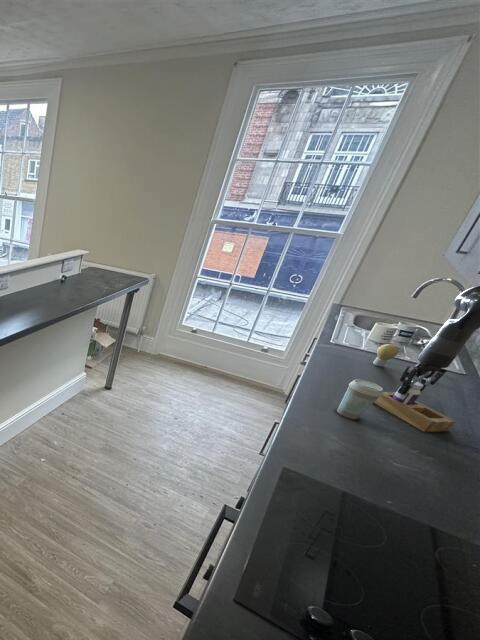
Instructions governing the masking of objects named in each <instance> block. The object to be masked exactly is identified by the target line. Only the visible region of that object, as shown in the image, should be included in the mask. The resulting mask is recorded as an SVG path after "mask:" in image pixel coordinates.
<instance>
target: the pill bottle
mask: <svg viewBox="0 0 480 640" xmlns="http://www.w3.org/2000/svg"><path fill="white" fill-rule="evenodd" d="M412 381H413V380H412ZM412 381H411V382H412ZM401 386H402V385H401ZM401 386H399V388H400V387H401ZM422 387H423V384H421V383H419V382H416V383H415V384H414V385H412V387H411V388H410V389H409V391H408V392H407V393H406V394H405V395H402V394H400V393H398V392H397V391H398V390H399V388H398V389H397V390H396V391H395V392H396V393H395V394H394V396H393V397H392V398H393V399H395V400H397V401H399V402H401V403H403V404H404V405H412V404H413V403H414V402H415V400H416V401H417V400H418V398H419V397H420V395H421V394H422V392H421V391H420V389H422Z"/></svg>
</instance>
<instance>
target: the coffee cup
mask: <svg viewBox="0 0 480 640" xmlns="http://www.w3.org/2000/svg"><path fill="white" fill-rule="evenodd" d="M382 392H384V388H383V387H382V386H380V385H379V384H377V383H375V382H372V381H369V380H366V379H363V378H362V379H361V378H355V379H353V380H352V381H350V382H349V383H348V388H347V389H346V392H345V393H344V395H343V398H342V400H341V402H340V404H339V406H338V408H337V410H336V412H337V413H338V414H339V415H340V416H342V417H345V418H347V419H351V420H358V419H359V418H360V417H361V416H362V415H363V414H364V413H366V411H367V410H368V409H369V408H370V407H371V406H372V405H373V404H375V403H374V402H375V401H376V399H377V398H378V397H380V396H382V394H383V393H382Z"/></svg>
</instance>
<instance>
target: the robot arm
mask: <svg viewBox="0 0 480 640" xmlns="http://www.w3.org/2000/svg"><path fill="white" fill-rule="evenodd" d="M453 305H454V306H455V308H456V309H458V310H459V311H461V312H464V313H465V314H464V315H462V316H461V317H460V318H450V319H448V320H446V321H445V322H444V324H443V325H442V326H441V327H440V328H439V330H438V331H437V333H436V334H435V335H434V336H433V337H432V338H431V339H430V341H429V342H428V343H427V344H426V346H424V348H423V350H422V351H421V352H420V353H419V355H418V356H417V360H418V361H419V362H418V363H417V364H416V365H415V366H413V367H412V366H406V368H405V370H404V371H403V372H402V375H401V377H400V379H399V382H401V383H402V385H401V387H400V386H399V388H398V389H399V390H398V389H397V390H398V391H397V390H396V392H398V393H400V394H402V395H405V394H406V393H407V392H408V391H409V389H410V388H411V387H412V385H414V384H415V383H416V382H419V383H421V384H423V387H422V389H420V391H421V393H423V391H424V390H425V389H426V387H429V386H430V385H435V384H436V383H437V382H438V381H439V380H440V379H441V378H442V377H443V376H444V375H445V374H446V373H447V372H448V370H447V369H446V368H448V367H450V365H451V364H452V363H453V361H455V359H456V358H457V357H458V355H459V354H461V352H462V351H463V349H464V348H465V345H466V344H467V343H468V342H469V340H470V339H471V338H472V336H473V335H474V334H475V332H477V330H479V329H480V285H476V286H473V287H471V288H468V289H466V290H464V291H462V292H461V293H459V294H458V295H457V296H456V297H455V299H454V302H453ZM411 381H412V382H411Z"/></svg>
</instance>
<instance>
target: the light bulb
mask: <svg viewBox="0 0 480 640" xmlns="http://www.w3.org/2000/svg"><path fill="white" fill-rule="evenodd" d="M376 354H377V355H376V356H377V357H376V358H375V359H374V361H373V365H374V366H376V367H379V368H381V367H385V365H386V364H387V363H388V360H391V359H393V358H395V357H397V356H398V354H399V348H398V347H397V346H396V345H394V344H390V343H385V344H382V345H380V346H379V347H377V350H376Z"/></svg>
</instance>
